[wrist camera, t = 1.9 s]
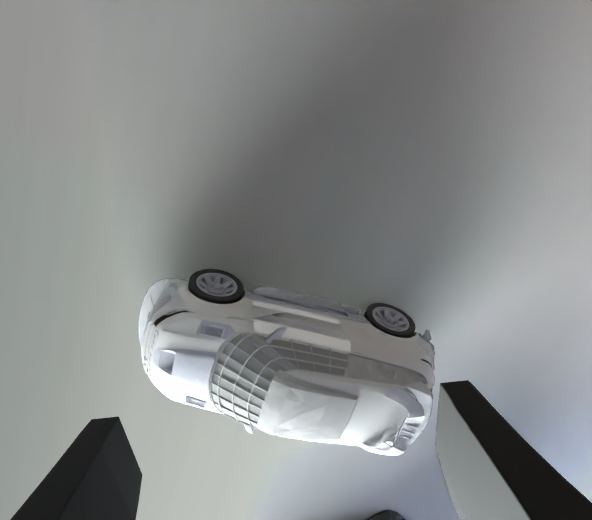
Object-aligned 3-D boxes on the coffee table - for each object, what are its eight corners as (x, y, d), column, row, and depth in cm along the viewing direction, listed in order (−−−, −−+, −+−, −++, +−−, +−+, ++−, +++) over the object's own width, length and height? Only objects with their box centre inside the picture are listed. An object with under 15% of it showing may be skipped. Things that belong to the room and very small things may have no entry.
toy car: (150, 251, 12) (117, 323, 10) (434, 309, 14) (473, 386, 11) (135, 358, 14) (104, 443, 11) (388, 400, 15) (413, 484, 13)
